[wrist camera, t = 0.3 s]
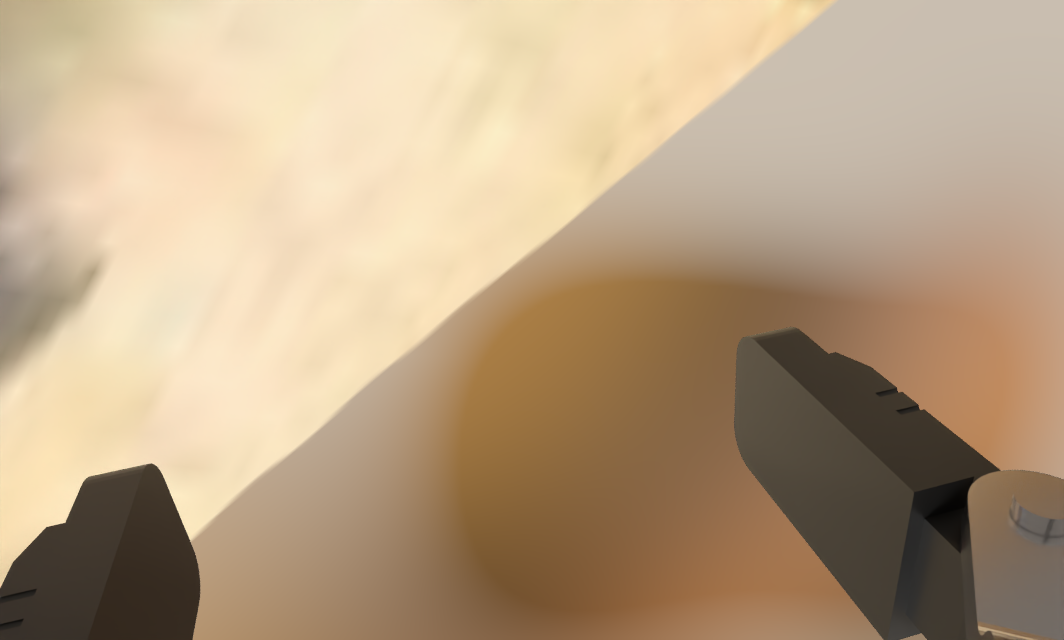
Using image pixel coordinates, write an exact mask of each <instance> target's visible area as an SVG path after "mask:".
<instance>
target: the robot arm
mask: <svg viewBox="0 0 1064 640" xmlns="http://www.w3.org/2000/svg"><path fill="white" fill-rule="evenodd" d="M734 428H735V437H736V441H737V445H738V448H739V451H740V454H741V456H742V458H743V460H744V462H745V464H746V466H747V467H748V468H749V470H750V471H751V472H752V474H753V475H754V476H755V477H756V479H757V480H758V481H759V482H760V484H761V485H762V486H763V487H764V489H765V490H766V491H767V492H768V494H769V495H770V496H771V497H772V499H773V500H774V501H775V503H776V504H777V505H778V506H779V508H780V509H781V510H782V512H783V513H784V514H785V515H786V517H787V518H788V519H789V520H790V522H791V523H792V524H793V525H794V527H795V528H796V529H797V530H798V532H799V533H800V534H801V536H802V537H803V538H804V539H805V541H806V542H807V543H808V544H809V546H810V547H811V548H812V549H813V551H814V552H815V553H816V554H817V556H818V557H819V558H820V560H821V561H822V562H823V563H824V565H825V566H826V567H827V568H828V570H829V571H830V572H831V573H832V575H833V576H834V577H835V579H836V580H837V581H838V582H839V584H840V585H841V586H842V587H843V589H844V590H845V591H846V592H847V594H848V595H849V596H850V598H851V599H852V600H853V601H854V602H855V604H856V605H857V606H858V608H859V609H860V610H861V611H862V613H863V614H864V615H865V616H866V618H867V619H868V620H869V622H870V623H871V624H872V625H873V627H874V628H875V629H876V630H877V632H878V633H879V634H880V636H881V637H882V638H883V639H884V640H900V639H903V638H906V637H910V636H913V635H917V634H920V633H922V634H923V635H924V636H925V638H926V639H927V640H1064V479H1061V478H1058V477H1054V476H1051V475H1048V474H1044V473H1039V472H1034V471H1025V470H1004V471H1001V470H999V469H998V468H997V467H996V466H994V465H993V464H992V463H991V462H989V461H988V460H987V459H986V458H984V457H983V456H982V455H980V454H979V453H978V452H977V451H976V450H974V449H973V448H972V447H970V446H969V445H968V444H967V443H966V442H964V441H963V440H962V439H961V438H959V437H958V436H957V435H956V434H954V433H953V432H952V431H951V430H949V429H948V428H947V427H946V426H944V425H943V424H942V423H941V422H939V421H938V420H937V419H936V418H934V417H933V416H932V415H931V414H929V413H928V412H927V411H926V410H920V409H919V405H918V404H917V403H915V402H914V401H913V400H912V399H910V398H909V397H908V396H907V395H905V394H904V393H903V392H900V393H898V391H897V387H895V386H894V385H893V384H892V383H890V382H889V381H888V380H887V379H885V378H884V377H883V376H882V375H880V374H879V373H878V372H876V371H875V370H874V369H873V368H871V367H870V366H867V365H865V364H862V363H860V362H858V361H855V360H853V359H851V358H848V357H846V356H844V355H841V354H839V353H836V352H835V353H830V354H828V353H827V352H825V351H824V350H823V349H822V348H821V347H820V346H818V345H817V344H816V343H815V342H814V341H812V340H811V339H810V338H809V337H808V336H807V335H805V334H804V333H803V332H801V331H800V330H799V329H797V328H795V327H789V328H784V329H780V330H775V331H770V332H766V333H761V334H756V335H752V336H747V337H744V338H742V339H741V341H740V342H739V344H738V348H737V360H736V389H735V417H734ZM199 600H200V577H199V569H198V563H197V559H196V555H195V552H194V550H193V547H192V545H191V542H190V540H189V537H188V535H187V533H186V530H185V528H184V525H183V523H182V521H181V518H180V516H179V513H178V511H177V508H176V506H175V504H174V501H173V499H172V496H171V494H170V492H169V489H168V487H167V484H166V482H165V480H164V477H163V475H162V473H161V472H160V470H159V469H158V467H157V466H155V465H154V464H146V465H141V466H137V467H132V468H127V469H123V470H118V471H113V472H109V473H104V474H100V475H95V476H90V477H88V478H86V480H85V481H84V482H83V484H82V486H81V488H80V490H79V493H78V495H77V497H76V500H75V502H74V504H73V507H72V509H71V511H70V514H69V516H68V518H67V520H66V523H63V524H59V525H54V526H50V527H46V528H45V529H44V530H43V531H42V533H41V534H40V535H39V536H38V537H37V538H36V539H35V540H34V541H33V542H32V543H31V544H30V545H29V546H28V547H27V548H26V549H25V550H24V551H23V552H22V553H21V554H20V555H19V556H18V558H17V559H16V560H15V561H14V562H13V563H12V566H11V568H10V570H9V572H8V574H7V576H6V578H5V580H4V582H3V584H2V586H1V588H0V640H192V639H193V633H194V628H195V623H196V617H197V612H198V606H199Z"/></svg>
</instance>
